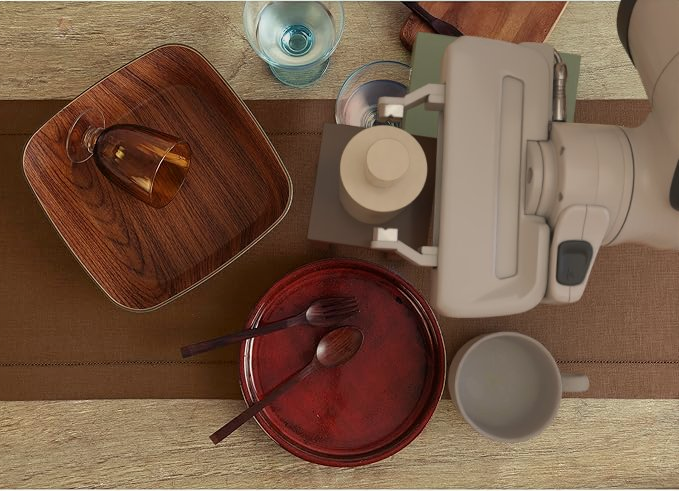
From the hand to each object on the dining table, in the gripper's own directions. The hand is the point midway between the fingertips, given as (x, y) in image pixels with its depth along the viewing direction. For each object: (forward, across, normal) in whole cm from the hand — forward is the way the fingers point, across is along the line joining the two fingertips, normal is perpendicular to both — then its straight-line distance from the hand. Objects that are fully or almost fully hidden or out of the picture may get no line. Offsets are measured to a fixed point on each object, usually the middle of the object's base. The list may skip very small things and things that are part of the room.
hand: (374, 173), depth 44 cm
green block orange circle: (-14, -12, +24) cm, 30 cm away
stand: (0, 0, +24) cm, 25 cm away
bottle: (0, 0, +6) cm, 7 cm away
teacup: (-17, +18, +25) cm, 35 cm away
